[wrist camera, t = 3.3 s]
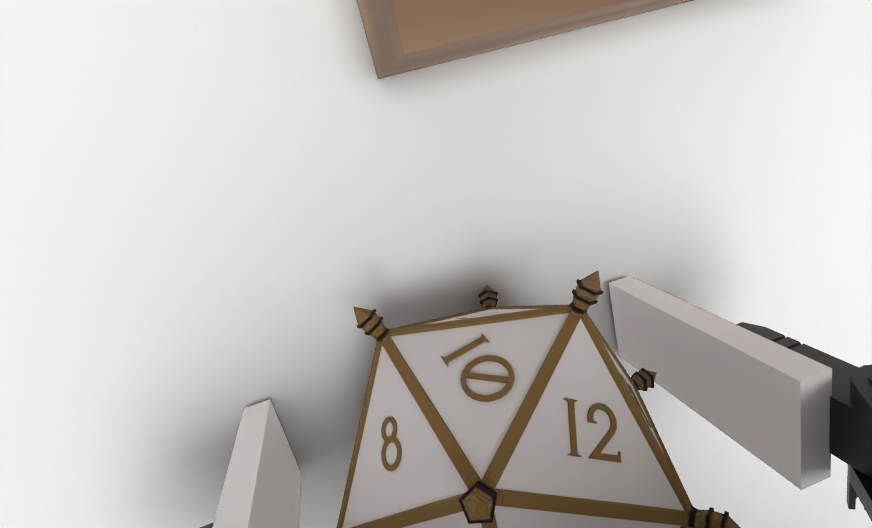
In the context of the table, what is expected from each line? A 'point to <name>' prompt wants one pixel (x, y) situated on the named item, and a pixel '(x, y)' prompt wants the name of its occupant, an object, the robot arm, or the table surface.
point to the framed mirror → (476, 26)
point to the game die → (510, 427)
